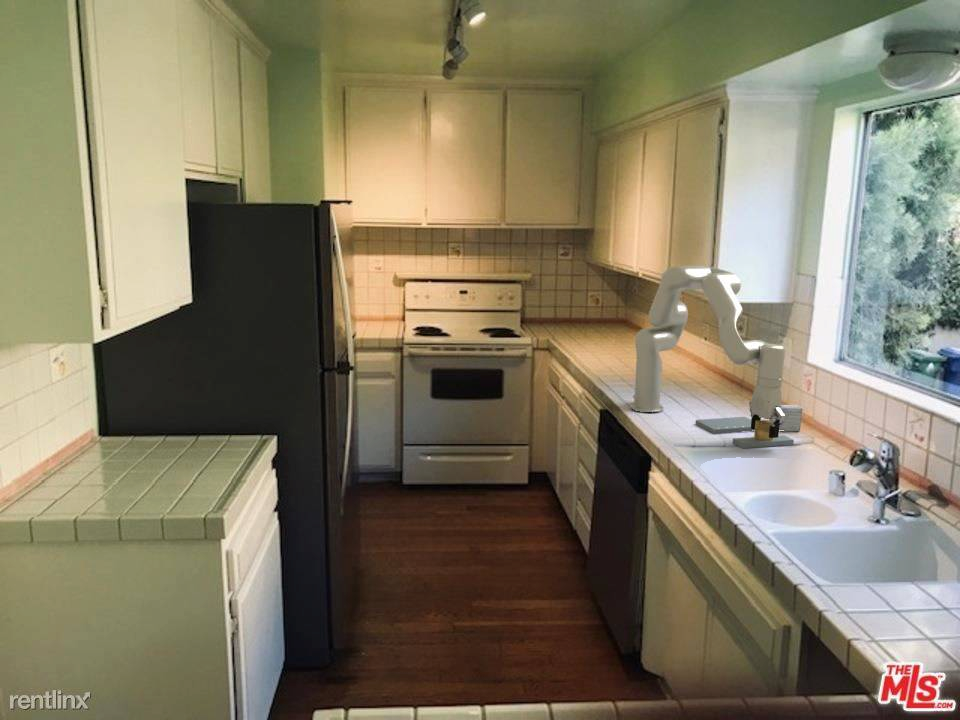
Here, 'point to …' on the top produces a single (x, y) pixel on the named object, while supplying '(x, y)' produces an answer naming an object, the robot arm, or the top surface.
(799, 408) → the medicine box
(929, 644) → the top surface
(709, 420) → the board
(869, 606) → the top surface
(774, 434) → the robot arm
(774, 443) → the grey-blue slab
